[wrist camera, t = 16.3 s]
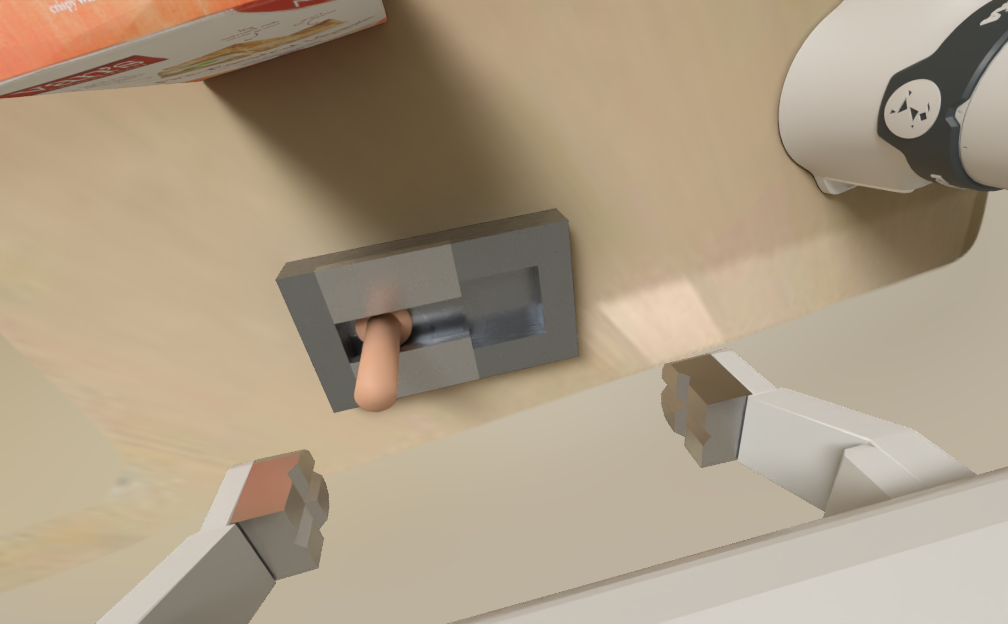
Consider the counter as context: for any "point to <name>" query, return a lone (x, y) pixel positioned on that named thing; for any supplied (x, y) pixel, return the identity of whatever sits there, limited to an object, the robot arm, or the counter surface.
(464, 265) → the keyhole board
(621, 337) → the counter surface
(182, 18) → the cracker box
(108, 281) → the counter surface
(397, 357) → the peg
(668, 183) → the counter surface
